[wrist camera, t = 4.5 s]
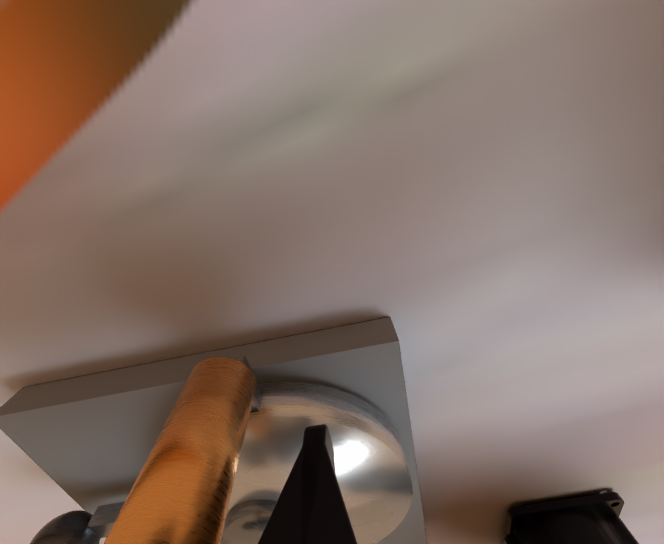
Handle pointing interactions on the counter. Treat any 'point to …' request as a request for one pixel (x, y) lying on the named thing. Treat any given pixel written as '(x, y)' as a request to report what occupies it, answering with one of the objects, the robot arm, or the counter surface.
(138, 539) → the dial
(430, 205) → the counter surface
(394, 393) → the stand
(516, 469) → the counter surface
